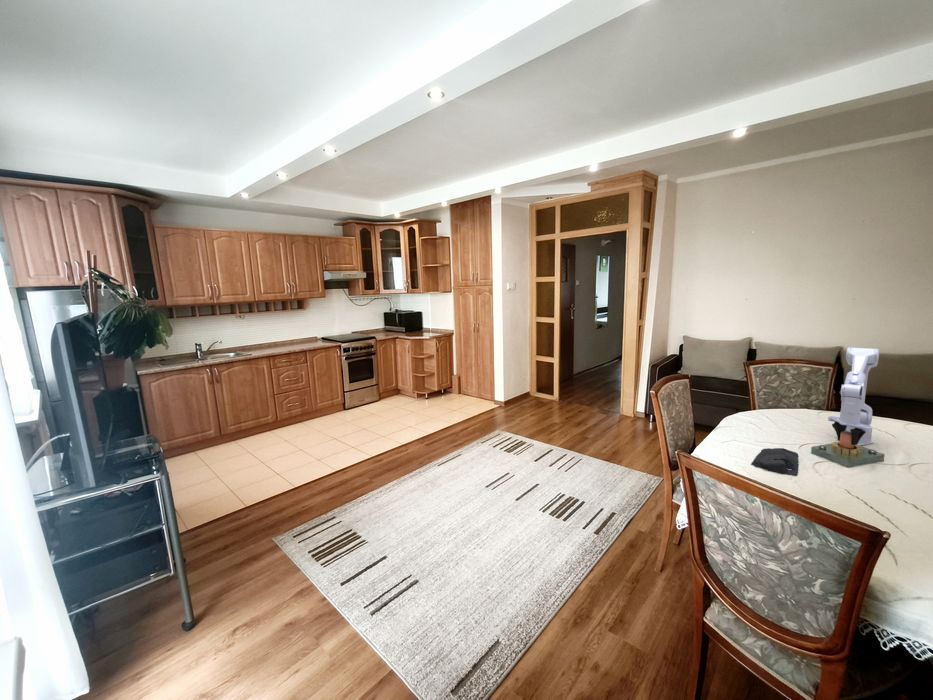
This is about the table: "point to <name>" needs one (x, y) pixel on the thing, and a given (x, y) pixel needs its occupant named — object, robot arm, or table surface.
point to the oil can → (846, 440)
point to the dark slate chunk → (777, 461)
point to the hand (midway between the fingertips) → (847, 442)
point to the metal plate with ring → (847, 454)
